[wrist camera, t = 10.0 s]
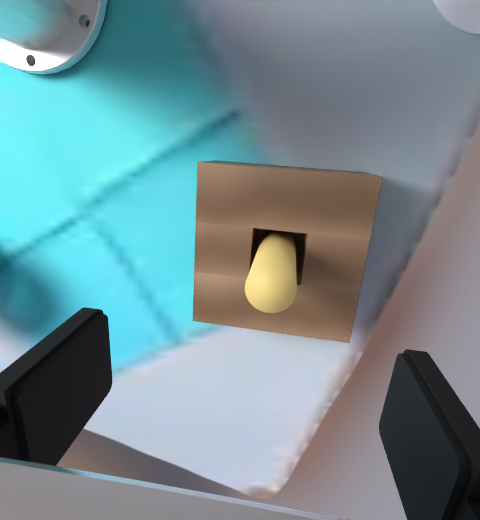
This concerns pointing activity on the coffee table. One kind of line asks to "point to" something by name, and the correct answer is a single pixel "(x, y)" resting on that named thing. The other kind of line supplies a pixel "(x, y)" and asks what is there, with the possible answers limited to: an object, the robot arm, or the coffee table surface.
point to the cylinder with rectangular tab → (461, 13)
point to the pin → (273, 273)
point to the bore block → (291, 220)
